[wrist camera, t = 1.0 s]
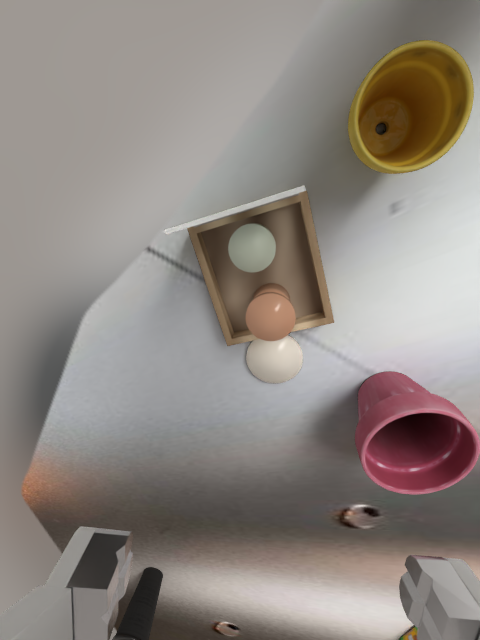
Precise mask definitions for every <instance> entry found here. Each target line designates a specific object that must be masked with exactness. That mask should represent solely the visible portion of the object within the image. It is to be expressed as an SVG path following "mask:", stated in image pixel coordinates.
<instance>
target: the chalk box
mask: <svg viewBox="0 0 480 640" xmlns="http://www.w3.org/2000/svg"><path fill="white" fill-rule="evenodd" d="M417 630H418V628H417V627H416V626H415V627H414V628H412V629H411V630H410V631H409V632H407V633H406V634H405V635H404V636H402V637H401V638H399V640H417Z"/></svg>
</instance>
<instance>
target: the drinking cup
mask: <svg viewBox="0 0 480 640" xmlns="http://www.w3.org/2000/svg"><path fill="white" fill-rule="evenodd" d="M162 578H163V574H162V572H161V571H160V570H158V569H156V568H146V569H145V570H144V572H143V575H142V577H141V579H140V581H139V584H138V586H137V588H136V590H135V593H134V595H133V597H132V599H131V602H130V604H129V606H128V608H127V611H126V613H125V615H124V617H123V620H122V622H121V624H120V626H119V629H118V631H117V633H116V635H115V636H114V638H113V639H112V640H149V636H150V631H151V627H152V622H153V618H154V613H155V609H156V604H157V600H158V595H159V591H160V587H161V582H162Z"/></svg>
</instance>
